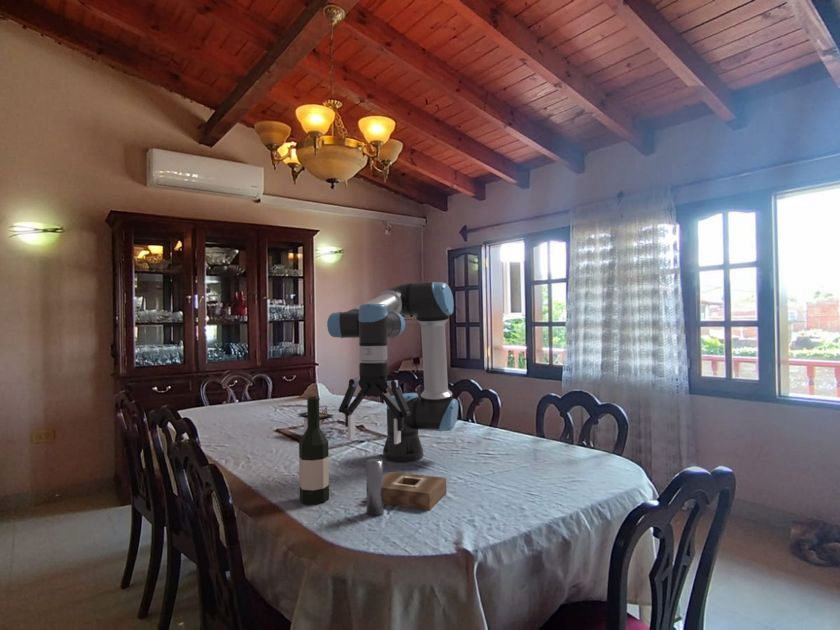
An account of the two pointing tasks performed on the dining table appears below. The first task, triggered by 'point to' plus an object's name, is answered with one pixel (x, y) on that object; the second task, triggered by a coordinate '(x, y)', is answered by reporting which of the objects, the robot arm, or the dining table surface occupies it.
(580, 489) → the dining table surface
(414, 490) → the socket
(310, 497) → the wine bottle
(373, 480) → the peg
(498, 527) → the dining table surface
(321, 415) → the architectural model
